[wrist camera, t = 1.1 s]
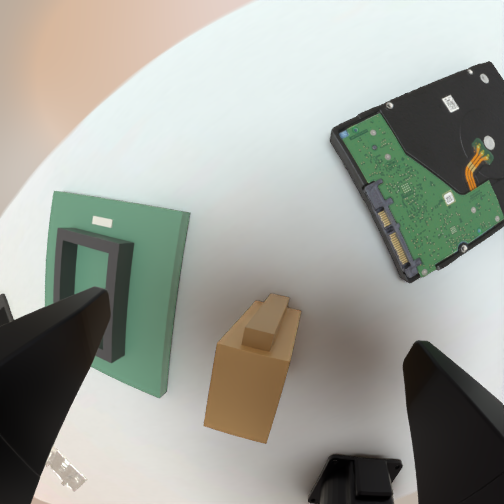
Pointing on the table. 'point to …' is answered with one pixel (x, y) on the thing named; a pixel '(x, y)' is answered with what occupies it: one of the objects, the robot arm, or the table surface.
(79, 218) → the board
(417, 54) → the table surface
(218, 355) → the plug
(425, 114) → the disk drive
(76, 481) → the stamped metal plate
